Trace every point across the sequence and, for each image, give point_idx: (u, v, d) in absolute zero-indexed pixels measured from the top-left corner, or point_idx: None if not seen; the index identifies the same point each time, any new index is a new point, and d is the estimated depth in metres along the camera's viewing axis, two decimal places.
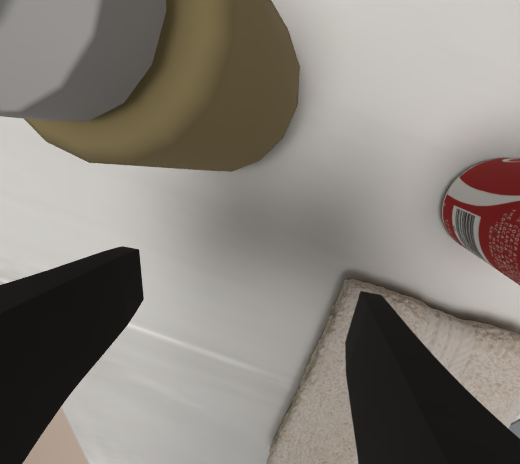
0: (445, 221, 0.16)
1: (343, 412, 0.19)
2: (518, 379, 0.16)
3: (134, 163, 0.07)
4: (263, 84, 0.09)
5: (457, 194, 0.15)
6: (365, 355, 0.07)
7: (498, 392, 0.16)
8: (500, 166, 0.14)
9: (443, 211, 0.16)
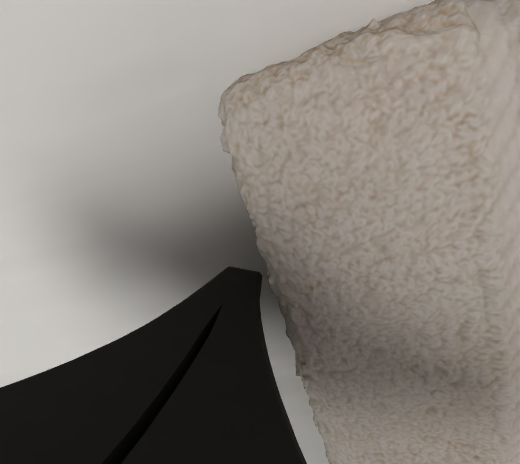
0: None
1: (407, 391, 0.08)
2: None
3: None
4: None
5: None
6: None
7: None
8: None
9: None
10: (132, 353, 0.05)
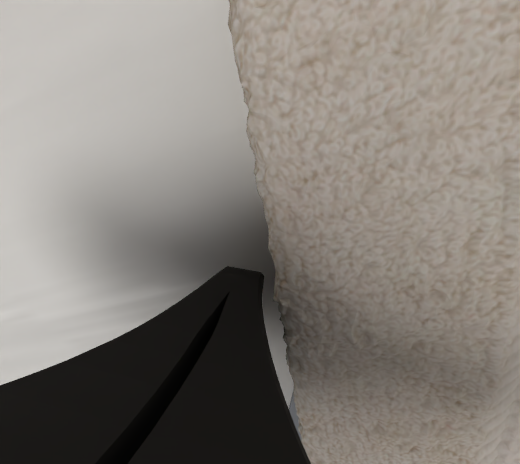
0: None
1: (396, 318, 0.07)
2: None
3: None
4: None
5: None
6: None
7: None
8: None
9: None
10: (129, 351, 0.05)
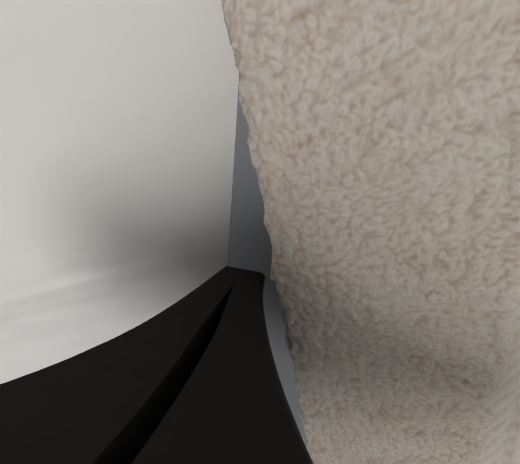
0: None
1: (398, 292, 0.06)
2: None
3: None
4: None
5: None
6: None
7: None
8: None
9: None
10: (128, 352, 0.05)
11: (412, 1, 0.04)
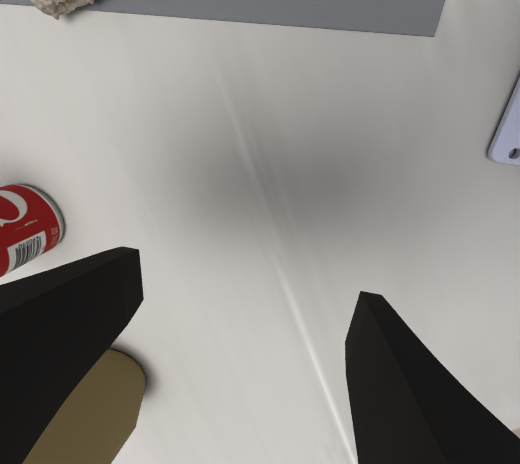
0: (55, 242, 0.21)
1: None
2: None
3: None
4: None
5: None
6: (365, 355, 0.07)
7: None
8: None
9: (54, 245, 0.22)
10: None
11: None
